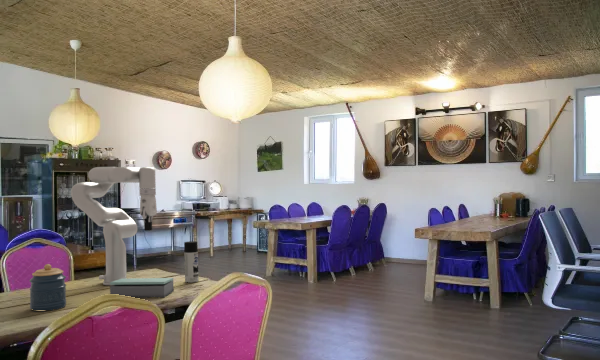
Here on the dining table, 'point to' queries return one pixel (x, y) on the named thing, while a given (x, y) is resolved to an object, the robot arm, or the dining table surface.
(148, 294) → the gray rectangular tray
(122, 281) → the cover
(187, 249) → the spray can
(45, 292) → the canister
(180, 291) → the dining table surface
